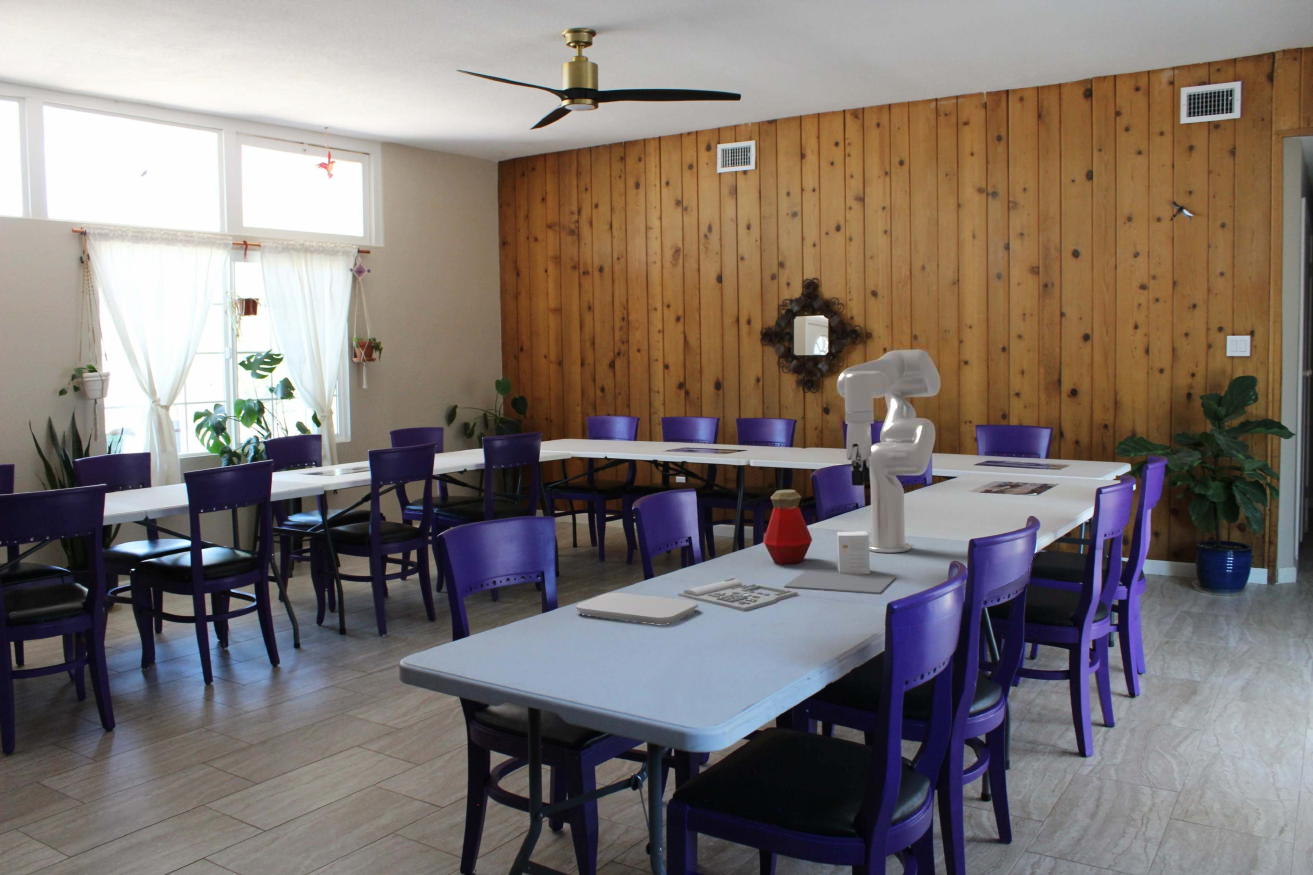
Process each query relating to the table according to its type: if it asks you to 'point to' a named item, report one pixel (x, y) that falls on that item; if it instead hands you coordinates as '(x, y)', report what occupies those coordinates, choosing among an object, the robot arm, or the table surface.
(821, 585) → the mat
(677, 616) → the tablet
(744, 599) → the office telephone
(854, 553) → the small box
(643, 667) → the table surface
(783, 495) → the bottle
